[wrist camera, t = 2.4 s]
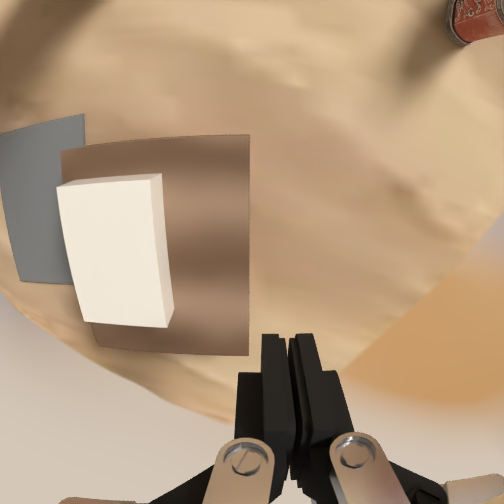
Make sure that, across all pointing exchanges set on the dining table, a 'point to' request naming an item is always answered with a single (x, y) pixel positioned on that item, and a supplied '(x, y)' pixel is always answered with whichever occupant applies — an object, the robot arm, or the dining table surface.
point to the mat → (37, 196)
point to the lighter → (474, 20)
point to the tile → (118, 249)
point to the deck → (188, 237)
